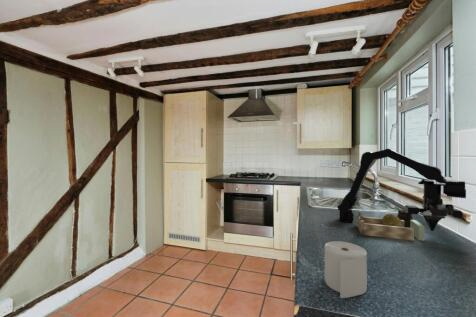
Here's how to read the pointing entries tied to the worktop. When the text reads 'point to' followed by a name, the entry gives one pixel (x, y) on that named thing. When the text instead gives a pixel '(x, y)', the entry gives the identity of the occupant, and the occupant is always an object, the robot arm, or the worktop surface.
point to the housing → (383, 228)
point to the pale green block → (418, 229)
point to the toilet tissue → (346, 268)
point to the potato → (391, 220)
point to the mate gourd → (405, 217)
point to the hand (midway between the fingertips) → (431, 230)
